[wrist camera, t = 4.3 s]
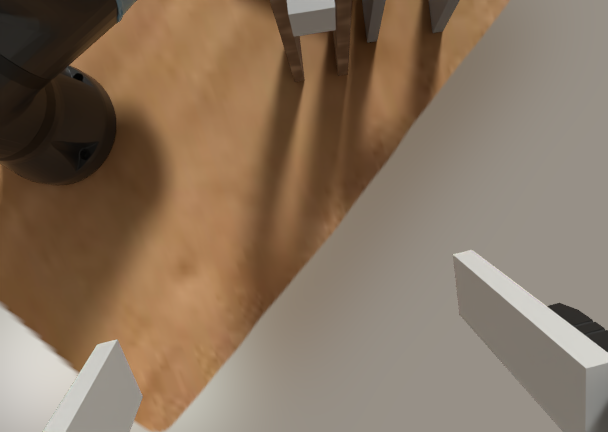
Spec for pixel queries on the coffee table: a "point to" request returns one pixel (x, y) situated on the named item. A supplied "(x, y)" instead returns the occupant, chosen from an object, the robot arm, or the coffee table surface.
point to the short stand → (373, 6)
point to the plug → (311, 16)
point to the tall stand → (293, 43)
